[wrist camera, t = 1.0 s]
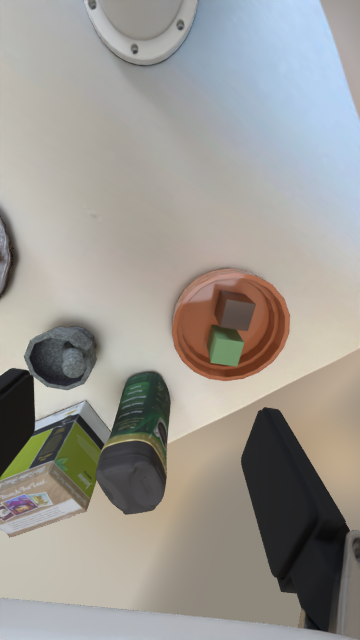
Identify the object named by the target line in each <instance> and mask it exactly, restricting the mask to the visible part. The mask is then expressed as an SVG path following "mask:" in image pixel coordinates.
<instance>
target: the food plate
mask: <svg viewBox="0 0 360 640" xmlns="http://www.w3.org/2000/svg"><path fill="white" fill-rule="evenodd" d="M5 229H6V225H5V223H4V221H3V220H2V218H1V216H0V297H1V295H2V294H3V292H4V291H5V289H6V286H7V283H8V275H9V272H10V269H11V267H12V265H13V261H12V257H13V255H12V251H11V249H12V248H11V249H9V248H8V246H10V243H11V242H10V238H9V237H8V236H7V235H6V233H5Z"/></svg>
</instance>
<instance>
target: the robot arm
mask: <svg viewBox="0 0 360 640" xmlns="http://www.w3.org/2000/svg"><path fill="white" fill-rule="evenodd" d="M198 1H199V0H84V3H85V6H86V9H87V12H88V14H89V17H90V19H91V21H92V24H93V26H94V28H95V29H96V31H97V33H98V35H99V36H100V38H101V39H102V41H103V42H104V43H105V44H106V45H107V47H108V48H109V49H110V50H111V51H112V52H114V53H115V54H116V55H117V56H118V57H120V58H122V59H124V60H126V61H127V62H130V63H134V64H137V65H151V64H155V63H159V62H161V61H163V60H165V59H167V58H168V57H169V56H171V55H172V54H173V53H174V52H175V51H177V49H178V48H179V47H180V46H181V44H182V43H183V42H184V40H185V39H186V37H187V35H188V33H189V31H190V29H191V27H192V24H193V21H194V18H195V15H196V10H197V6H198ZM179 30H181V31H179ZM134 53H137V54H134ZM34 430H35V405H34V378H33V375H30V372H29V371H28V370H22V369H16V368H11V369H9V370H8V371H6V372H5V373H4V374H2V375H1V376H0V477H1V476H2V475H3V473H4V472H5V471H6V469H7V468H8V467H9V465H10V464H11V463H12V461H13V460H14V459H15V458H16V456H17V455H18V454H19V452H20V451H21V450H22V448H23V447H24V446H25V445H26V443H27V442H28V441H29V439H30V438H31V437H32V435H33V433H34ZM241 465H242V469H243V472H244V476H245V480H246V483H247V487H248V490H249V494H250V498H251V501H252V505H253V509H254V512H255V516H256V519H257V523H258V527H259V530H260V534H261V537H262V541H263V545H264V548H265V552H266V556H267V559H268V563H269V566H270V569H271V572H272V574H273V576H274V577H276V578H277V580H278V583H279V586H280V590H281V592H287V593H297V596H298V599H299V602H300V605H301V608H302V609H301V614H300V619H299V625H298V628H294V627H287V626H279V625H271V624H263V623H254V622H245V621H235V620H225V619H215V618H206V617H196V616H186V615H176V614H167V613H156V612H146V611H135V610H125V609H115V608H104V607H94V606H84V605H83V606H82V605H72V604H63V603H52V602H42V601H30V600H19V599H8V598H0V640H360V531H359V530H352V531H350V530H349V528H348V526H347V525H346V523H345V522H346V521H345V519H344V518H343V516H342V514H341V512H340V511H339V509H338V507H337V506H336V504H335V502H334V501H333V499H332V497H331V496H330V494H329V492H328V491H327V489H326V487H325V486H324V484H323V482H322V480H321V479H320V477H319V476H318V474H317V472H316V471H315V469H314V467H313V465H312V464H311V462H310V460H309V459H308V457H307V455H306V454H305V452H304V450H303V449H302V447H301V445H300V444H299V442H298V440H297V439H296V437H295V435H294V433H293V432H292V430H291V428H290V427H289V425H288V423H287V422H286V420H285V418H284V417H283V415H282V413H281V412H280V411H279V410H278V409H272V408H266V407H265V408H263V409H262V410H260V411H259V412H258V414H257V416H256V419H255V422H254V424H253V427H252V430H251V433H250V435H249V438H248V441H247V443H246V446H245V449H244V451H243V454H242V457H241Z"/></svg>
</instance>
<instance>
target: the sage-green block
mask: <svg viewBox="0 0 360 640" xmlns="http://www.w3.org/2000/svg"><path fill="white" fill-rule="evenodd" d="M243 346H244V341H243V340H242V338H241V336H240V335H239V333H238V331H237V330H236V329H230V328H223V327H220V326H218V325H212V326H211V330H210V334H209V338H208V343H207V349H208V353H209V357H210V361H211V363H216V364H223V365H229V366H236V367H237V366H238V362H239V359H240V356H241V353H242V349H243Z"/></svg>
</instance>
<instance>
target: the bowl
mask: <svg viewBox="0 0 360 640" xmlns="http://www.w3.org/2000/svg"><path fill="white" fill-rule="evenodd" d="M220 290H223V291H229V292H235V293H241V294H245V295H247V296H248V297H249V298H250V299H251V300H252V301H253V302H254V303H255V304H256V306H255V310H254V313H253V316H252V319H251V323H250V326H249V329H248V331H242V330H237V331H238V333H239V335H240V336H241V338H242V340H243V341H244V346H243V349H242V353H241V356H240V359H239V362H238V366H237V367H236V366H229V365H223V364H216V363H211V361H210V357H209V353H208V349H207V343H208V338H209V334H210V330H211V326H212V325H218V326H219V324H218V322H217V319H216V317H215V315H214V313H215V309H216V305H217V300H218V296H219V292H220ZM289 324H290V314H289V311H288V308H287V306H286V303H285V300H284V298H283V297H282V296H281V294H280V293H279V292H278V291H277V290H276V288H275V287H274V286H273V285H272V284H270V283H268V282H266V281H265V280H263V279H261V278H259V277H258V276H256V275H254V274H252V273H250V272H248V271H244V270H238V269H233V268H227V269H220V270H214V271H210V272H208V273H206V274H204V275H202V276H200V277H198V278H196V279H195V280H194V281H193V282H192V283H191V284H190V285H189V286H188V287H187V288H186V289H185V290H184V291H183V292H182V294H181V296H180V298H179V299H178V301H177V303H176V305H175V310H174V316H173V324H172V335H173V341H174V346H175V349H176V351H177V352H178V354H179V356H180V358H181V359H182V361H183V362H184V363H185V364H186V365H187V366H188V367H189V368H191V369H192V370H193V371H194V372H196V373H198V374H200V375H202V376H204V377H207V378H209V379H215V380H222V381H230V380H238V379H244V378H246V377H249V376H251V375H254V374H256V373H258V372H260V371H261V370H263V369H264V368H265V367H267V366H268V365H269V364H271V363H272V362H273V361H274V360H275V359H276V357H277V356H278V355H279V353H280V352H281V351H282V349H283V348H284V345H285V342H286V340H287V337H288V334H289Z"/></svg>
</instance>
